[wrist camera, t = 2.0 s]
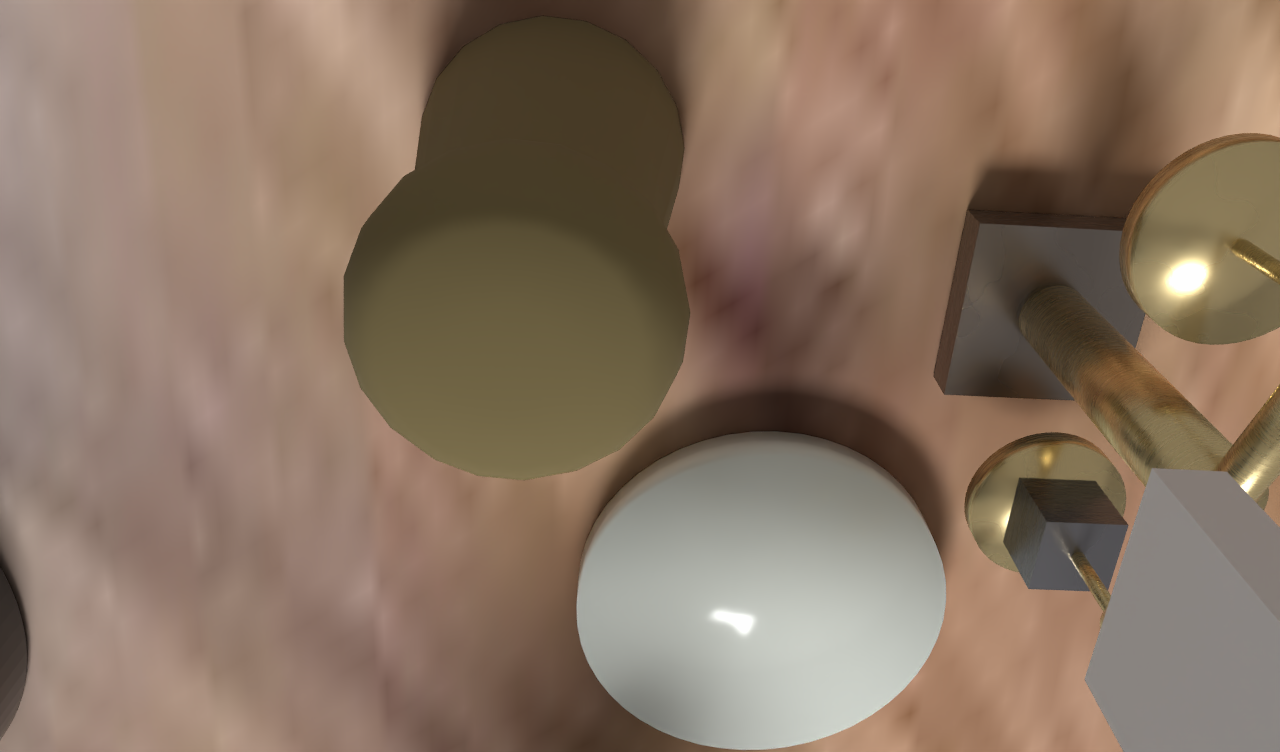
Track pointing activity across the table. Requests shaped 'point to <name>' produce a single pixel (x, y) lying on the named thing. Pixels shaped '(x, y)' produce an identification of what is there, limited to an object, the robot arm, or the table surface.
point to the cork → (527, 257)
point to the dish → (759, 591)
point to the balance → (1112, 351)
